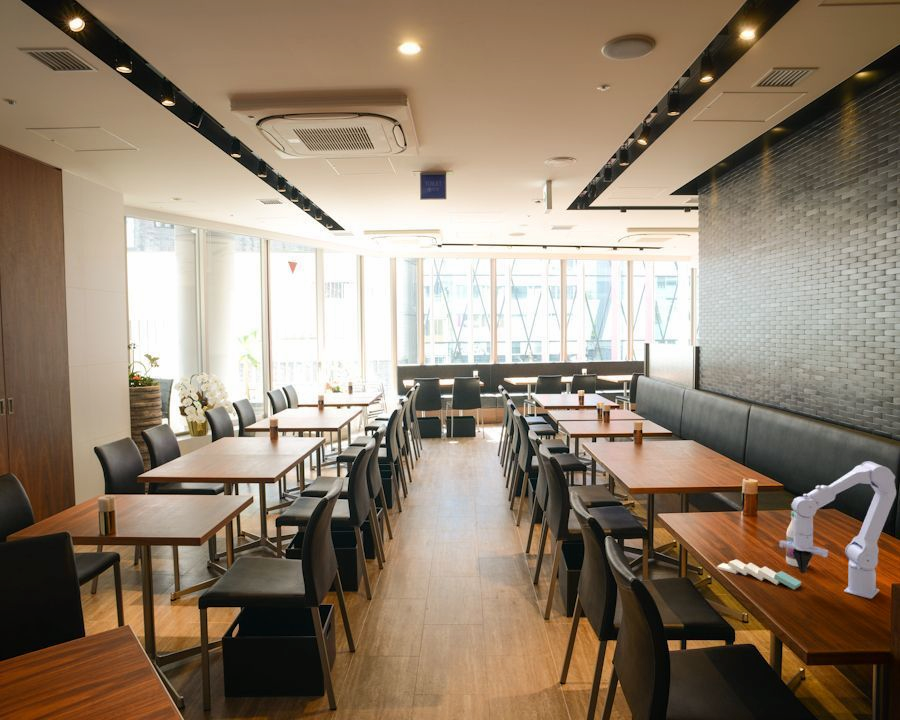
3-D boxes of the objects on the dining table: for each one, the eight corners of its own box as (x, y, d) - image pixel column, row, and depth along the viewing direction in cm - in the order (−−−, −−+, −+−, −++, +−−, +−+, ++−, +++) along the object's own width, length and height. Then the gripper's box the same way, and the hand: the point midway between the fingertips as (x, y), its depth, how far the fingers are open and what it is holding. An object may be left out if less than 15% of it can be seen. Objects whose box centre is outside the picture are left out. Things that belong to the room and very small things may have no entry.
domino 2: (752, 572, 226) (735, 563, 232) (754, 568, 226) (736, 559, 232) (745, 575, 224) (727, 565, 229) (746, 571, 223) (728, 561, 229)
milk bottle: (805, 561, 237) (806, 510, 236) (811, 568, 230) (812, 515, 229) (783, 559, 239) (784, 508, 238) (788, 566, 232) (789, 514, 231)
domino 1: (741, 572, 229) (723, 567, 234) (741, 567, 229) (723, 562, 234) (735, 575, 226) (717, 570, 231) (735, 571, 226) (717, 566, 231)
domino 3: (767, 577, 222) (749, 566, 227) (769, 573, 222) (750, 562, 227) (761, 580, 219) (742, 569, 224) (763, 577, 219) (744, 565, 224)
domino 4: (782, 581, 218) (763, 569, 223) (784, 577, 218) (765, 566, 223) (776, 585, 215) (757, 573, 220) (778, 581, 215) (758, 569, 220)
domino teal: (800, 585, 214) (779, 574, 219) (801, 582, 214) (781, 570, 219) (794, 589, 211) (773, 578, 216) (795, 585, 210) (775, 574, 216)
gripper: (776, 530, 213) (775, 569, 214) (823, 540, 202) (822, 581, 203) (783, 526, 218) (783, 564, 218) (830, 535, 207) (829, 575, 208)
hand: (803, 572), depth 211 cm, fingers closed
